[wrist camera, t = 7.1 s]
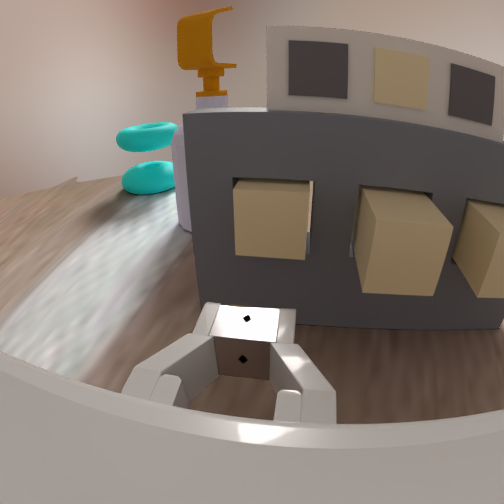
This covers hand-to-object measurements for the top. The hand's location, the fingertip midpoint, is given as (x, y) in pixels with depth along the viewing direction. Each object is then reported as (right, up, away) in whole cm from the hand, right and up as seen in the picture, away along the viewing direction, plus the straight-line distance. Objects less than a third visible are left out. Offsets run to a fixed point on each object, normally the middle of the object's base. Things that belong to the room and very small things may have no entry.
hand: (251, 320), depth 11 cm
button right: (+15, +1, +7) cm, 16 cm away
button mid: (+8, +2, +8) cm, 11 cm away
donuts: (-16, +13, +40) cm, 44 cm away
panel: (+8, -2, +12) cm, 15 cm away
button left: (+2, +4, +11) cm, 12 cm away
